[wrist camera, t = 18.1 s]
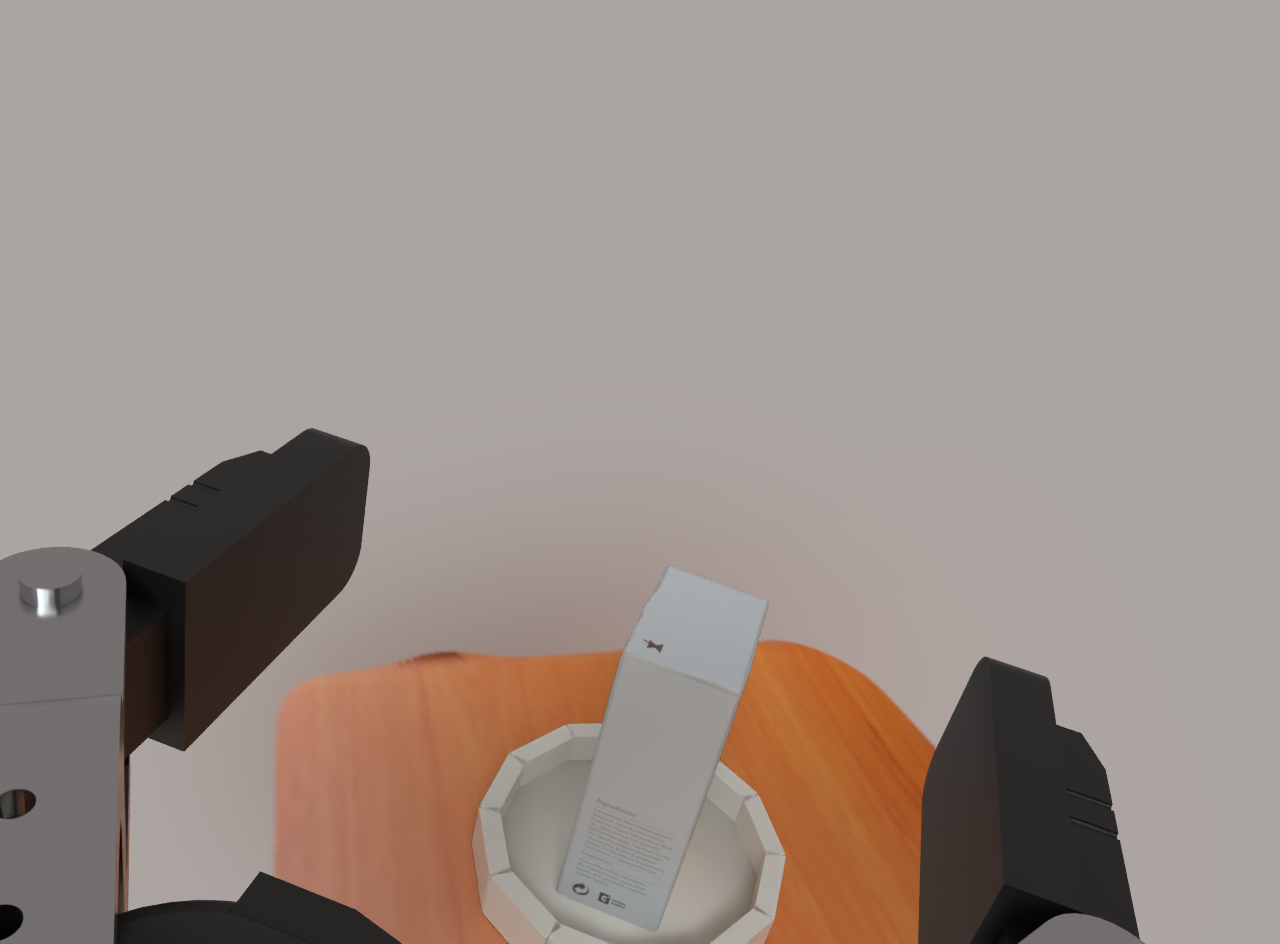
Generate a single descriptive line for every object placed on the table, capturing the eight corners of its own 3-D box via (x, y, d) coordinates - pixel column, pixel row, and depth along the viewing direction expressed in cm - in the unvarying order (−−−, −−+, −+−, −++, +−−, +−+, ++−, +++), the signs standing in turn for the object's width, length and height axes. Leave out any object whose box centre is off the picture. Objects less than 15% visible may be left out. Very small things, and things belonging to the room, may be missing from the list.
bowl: (786, 813, 46) (799, 781, 46) (740, 1057, 36) (755, 1022, 35) (537, 722, 48) (544, 689, 47) (423, 930, 38) (429, 893, 37)
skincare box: (658, 938, 39) (742, 696, 33) (552, 895, 39) (617, 650, 34) (695, 823, 44) (773, 597, 38) (601, 787, 45) (664, 559, 39)
